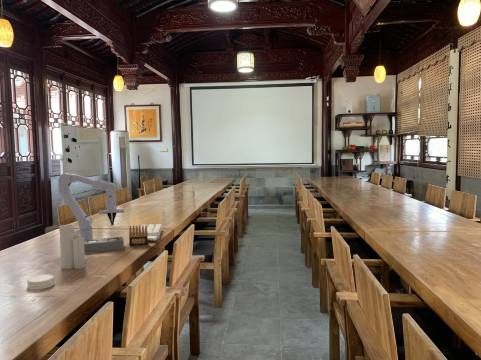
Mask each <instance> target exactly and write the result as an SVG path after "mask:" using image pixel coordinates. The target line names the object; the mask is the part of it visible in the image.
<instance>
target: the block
mask: <svg viewBox="0 0 481 360" xmlns="http://www.w3.org/2000/svg"><path fill="white" fill-rule="evenodd" d="M110 239H117V240H111V241H109V240H110ZM89 241H96V242H89ZM88 242H89V243H88ZM124 245H125V244H124V237H123V236H117V237H105V238H95V239H94V238H93V239H91V240H84V251H85V254H90V253H98V252H101V253H102V252H109V251H110V250H111V251H120V249H121V250H124V249H125V246H124Z"/></svg>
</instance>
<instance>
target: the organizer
mask: <svg viewBox="0 0 481 360" xmlns="http://www.w3.org/2000/svg"><path fill="white" fill-rule="evenodd" d="M142 225H143V226H144V233H145V225H146V226H147V232H148V241H157V240H160V236H161V233H162V224H161V223H157V224H156V223H155V224H150V223H149V224H140V226H141V235H142ZM138 236H139V229H138Z"/></svg>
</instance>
